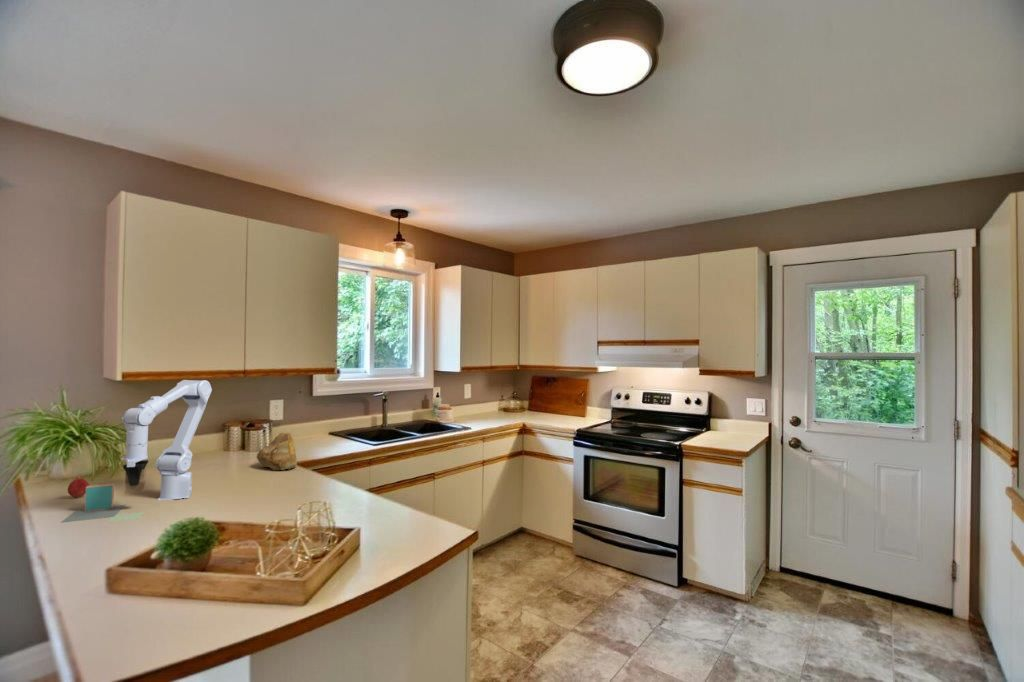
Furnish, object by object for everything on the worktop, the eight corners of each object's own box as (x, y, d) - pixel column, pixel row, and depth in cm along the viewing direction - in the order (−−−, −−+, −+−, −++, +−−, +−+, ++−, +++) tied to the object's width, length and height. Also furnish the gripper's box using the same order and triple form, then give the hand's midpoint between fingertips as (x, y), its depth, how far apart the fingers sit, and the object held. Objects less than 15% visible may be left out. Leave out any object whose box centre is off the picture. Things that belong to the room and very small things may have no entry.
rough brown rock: (257, 465, 230) (255, 434, 230) (294, 459, 238) (293, 430, 238) (257, 477, 210) (255, 444, 209) (298, 471, 218) (296, 438, 217)
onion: (63, 501, 168) (64, 478, 168) (73, 496, 173) (74, 474, 173) (82, 500, 169) (84, 477, 169) (92, 495, 175) (93, 473, 175)
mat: (125, 505, 164) (125, 504, 164) (113, 518, 152) (113, 516, 152) (77, 510, 158) (77, 509, 158) (60, 523, 146) (60, 522, 146)
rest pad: (144, 513, 157) (144, 511, 157) (139, 519, 150) (139, 518, 150) (113, 516, 153) (113, 515, 153) (107, 523, 147) (107, 521, 147)
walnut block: (145, 489, 161) (145, 469, 162) (143, 491, 159) (144, 470, 159) (126, 491, 159) (127, 470, 159) (124, 493, 157) (125, 472, 157)
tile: (113, 507, 161) (114, 483, 161) (111, 508, 159) (112, 484, 159) (86, 510, 158) (87, 485, 158) (84, 511, 156) (85, 487, 156)
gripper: (127, 440, 164) (125, 480, 164) (115, 448, 151) (113, 491, 151) (152, 439, 167) (151, 478, 167) (143, 446, 155) (141, 488, 154)
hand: (135, 484), depth 159 cm, fingers closed on walnut block, 3 cm apart
